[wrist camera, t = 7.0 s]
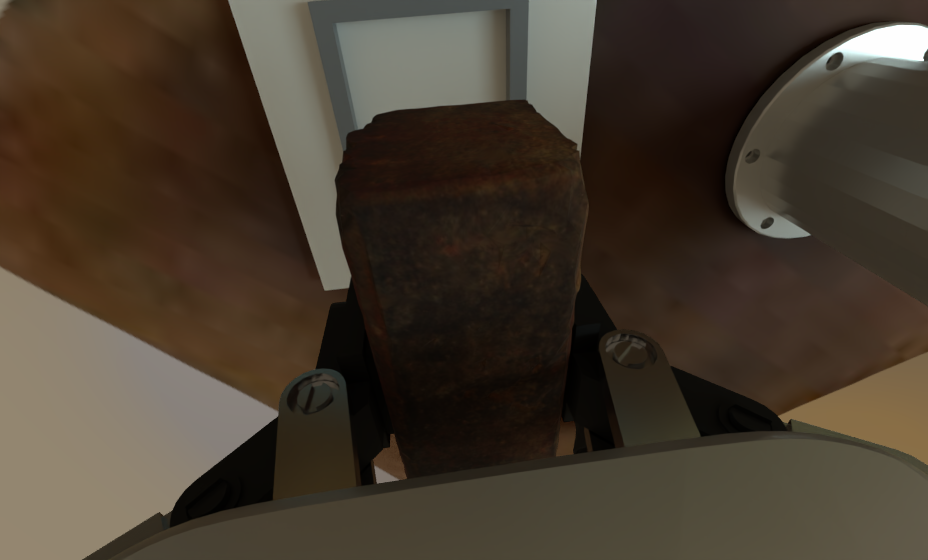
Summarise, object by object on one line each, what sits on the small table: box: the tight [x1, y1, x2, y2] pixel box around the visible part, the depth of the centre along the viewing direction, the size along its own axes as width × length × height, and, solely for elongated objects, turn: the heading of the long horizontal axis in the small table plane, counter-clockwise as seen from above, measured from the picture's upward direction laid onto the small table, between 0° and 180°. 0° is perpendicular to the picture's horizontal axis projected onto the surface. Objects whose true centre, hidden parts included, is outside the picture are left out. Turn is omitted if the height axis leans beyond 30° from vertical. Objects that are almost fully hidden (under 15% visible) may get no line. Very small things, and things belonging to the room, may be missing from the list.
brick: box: [335, 100, 589, 479], centre depth 10 cm, size 11×4×5 cm, turn 3°
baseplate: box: [228, 0, 597, 291], centre depth 22 cm, size 16×16×2 cm
